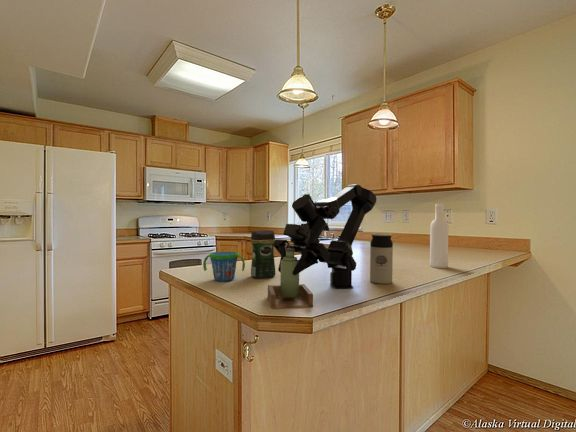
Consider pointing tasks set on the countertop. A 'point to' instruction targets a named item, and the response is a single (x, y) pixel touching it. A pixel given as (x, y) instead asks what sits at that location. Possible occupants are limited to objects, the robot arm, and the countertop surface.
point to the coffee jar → (263, 254)
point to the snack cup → (224, 265)
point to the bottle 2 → (439, 239)
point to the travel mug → (381, 258)
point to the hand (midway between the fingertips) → (286, 272)
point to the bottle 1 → (289, 275)
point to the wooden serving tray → (290, 298)
